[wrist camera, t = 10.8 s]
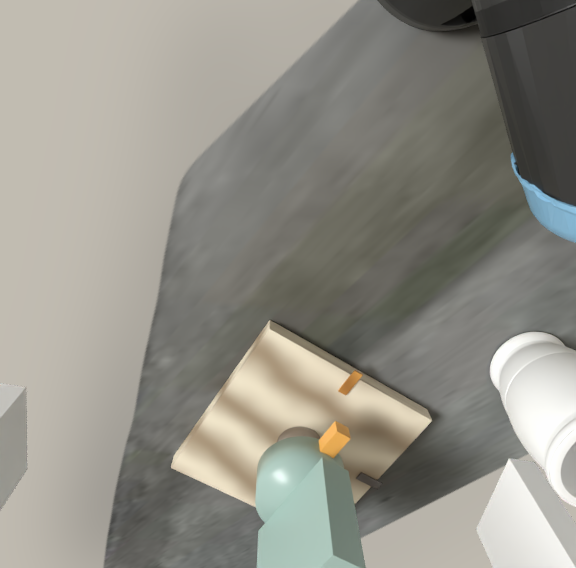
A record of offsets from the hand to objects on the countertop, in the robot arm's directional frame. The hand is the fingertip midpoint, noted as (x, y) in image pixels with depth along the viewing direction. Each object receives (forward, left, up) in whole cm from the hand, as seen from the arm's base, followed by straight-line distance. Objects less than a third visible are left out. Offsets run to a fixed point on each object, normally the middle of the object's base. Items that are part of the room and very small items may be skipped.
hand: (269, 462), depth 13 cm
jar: (+1, +33, -35) cm, 48 cm away
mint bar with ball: (+21, +17, -29) cm, 39 cm away
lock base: (+22, +17, -35) cm, 44 cm away
